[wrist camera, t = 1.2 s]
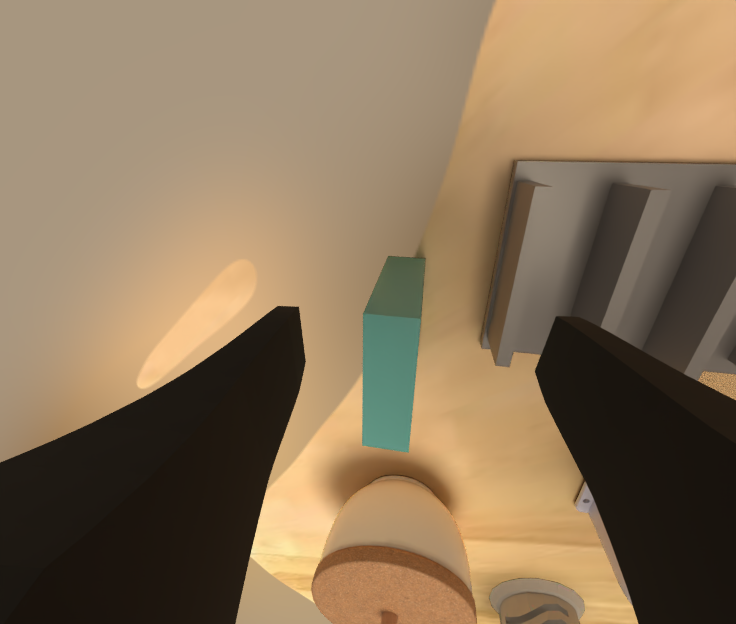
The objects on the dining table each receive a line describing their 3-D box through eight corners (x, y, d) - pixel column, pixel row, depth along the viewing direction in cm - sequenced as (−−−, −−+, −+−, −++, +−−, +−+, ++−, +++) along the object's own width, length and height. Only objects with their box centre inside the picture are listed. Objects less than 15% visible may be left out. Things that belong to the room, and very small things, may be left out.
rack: (727, 367, 21) (791, 413, 18) (480, 342, 24) (488, 378, 20) (848, 166, 16) (977, 170, 12) (514, 160, 18) (535, 162, 15)
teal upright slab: (416, 358, 25) (408, 452, 17) (384, 354, 26) (362, 445, 18) (425, 258, 22) (421, 318, 14) (388, 255, 22) (363, 313, 14)
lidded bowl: (494, 499, 30) (523, 662, 21) (418, 553, 36) (412, 701, 26) (378, 433, 29) (352, 572, 20) (319, 500, 35) (276, 633, 25)
